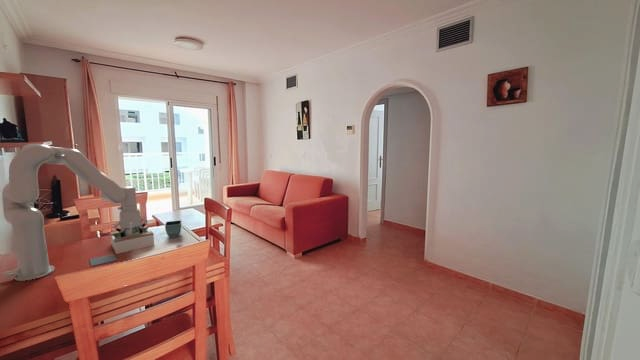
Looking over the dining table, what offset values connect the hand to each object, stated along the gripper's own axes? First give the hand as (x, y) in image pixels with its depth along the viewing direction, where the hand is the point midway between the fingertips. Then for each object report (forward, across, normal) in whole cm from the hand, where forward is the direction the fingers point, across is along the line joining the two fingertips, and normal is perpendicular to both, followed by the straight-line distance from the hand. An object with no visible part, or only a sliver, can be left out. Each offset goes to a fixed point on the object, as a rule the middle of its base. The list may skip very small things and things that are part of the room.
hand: (132, 236), depth 156 cm
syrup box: (+5, 0, 0) cm, 5 cm away
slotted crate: (+5, 0, 0) cm, 5 cm away
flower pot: (+5, +22, -1) cm, 23 cm away
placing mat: (+5, -15, -14) cm, 21 cm away
